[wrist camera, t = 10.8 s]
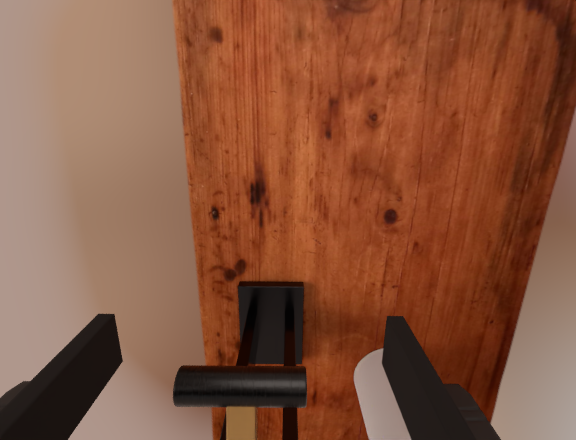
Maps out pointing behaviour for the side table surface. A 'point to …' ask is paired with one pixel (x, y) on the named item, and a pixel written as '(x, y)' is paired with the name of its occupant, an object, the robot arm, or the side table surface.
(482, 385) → the side table surface
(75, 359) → the robot arm
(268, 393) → the latch lever
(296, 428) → the latch bracket
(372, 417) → the light grey cylinder
